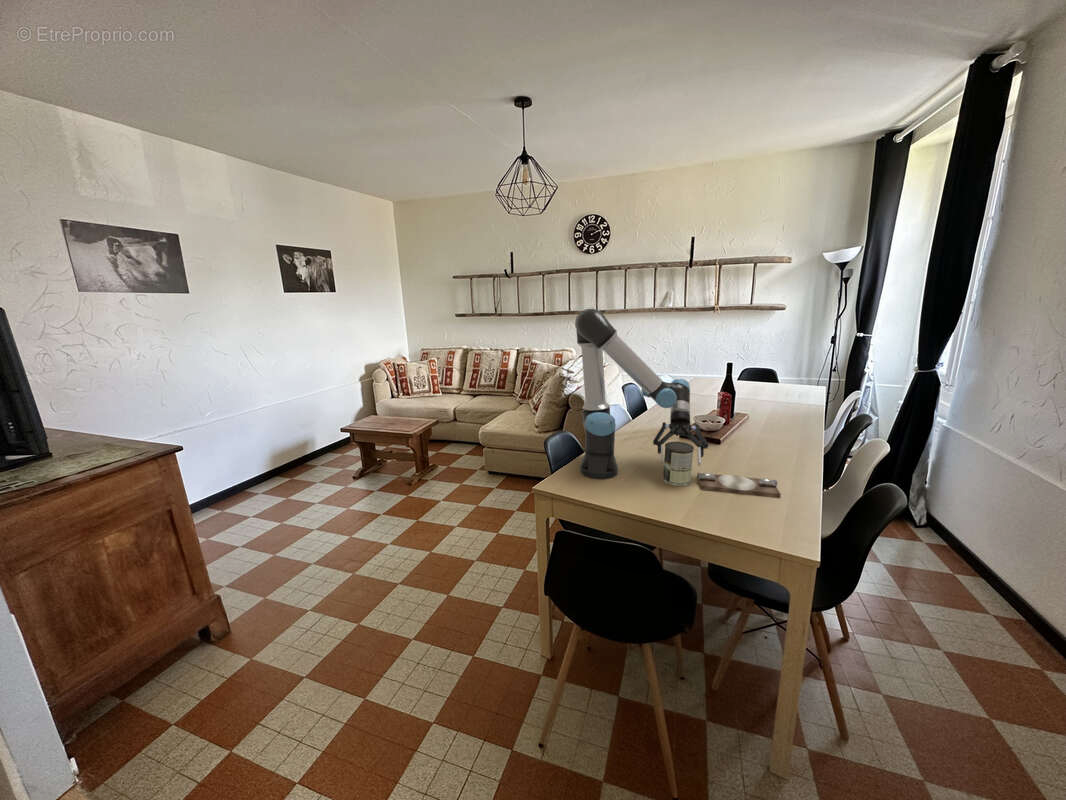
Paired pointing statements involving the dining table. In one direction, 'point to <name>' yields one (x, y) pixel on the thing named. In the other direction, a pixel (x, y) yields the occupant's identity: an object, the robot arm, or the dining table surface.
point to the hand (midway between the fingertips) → (680, 462)
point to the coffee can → (678, 463)
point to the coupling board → (738, 485)
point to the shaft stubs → (761, 481)
